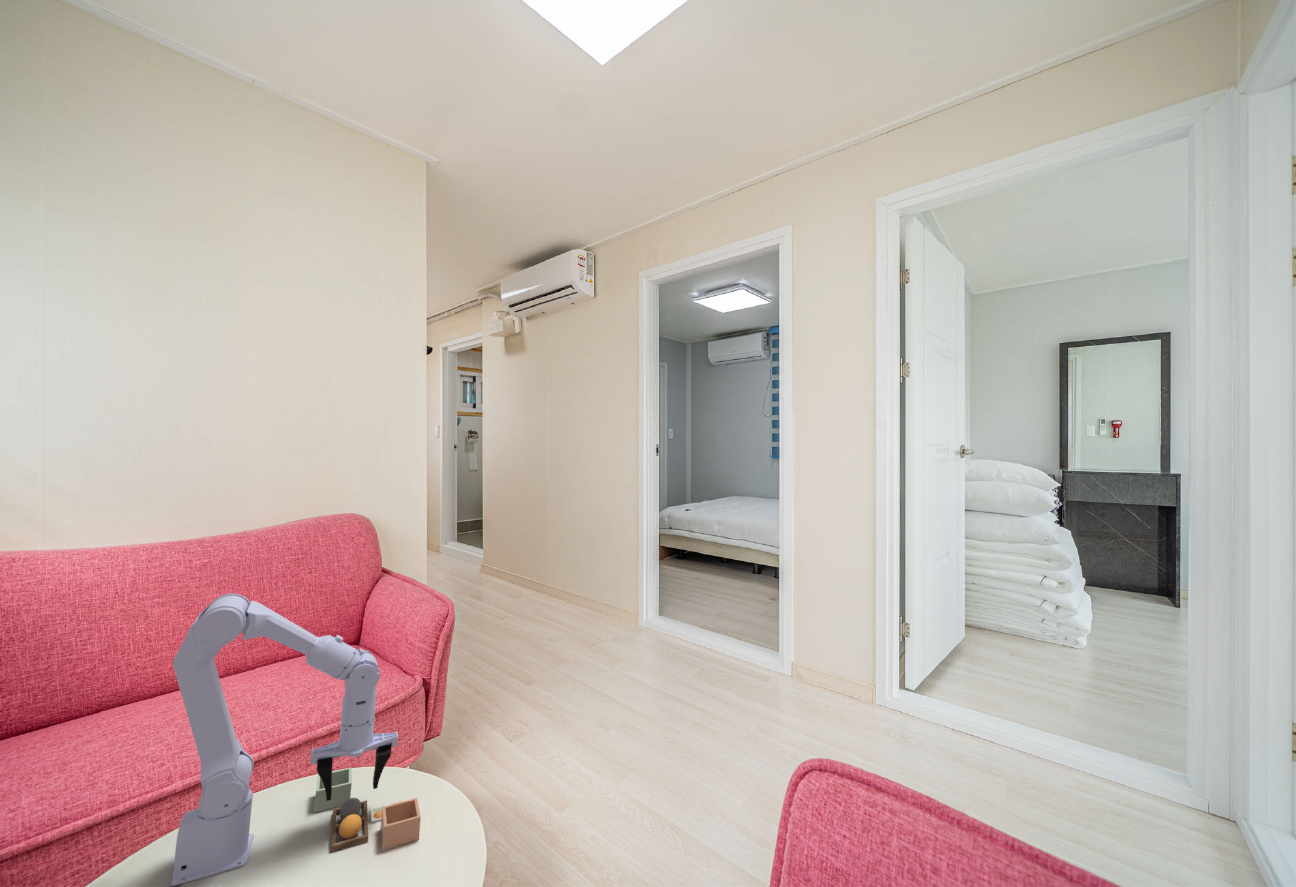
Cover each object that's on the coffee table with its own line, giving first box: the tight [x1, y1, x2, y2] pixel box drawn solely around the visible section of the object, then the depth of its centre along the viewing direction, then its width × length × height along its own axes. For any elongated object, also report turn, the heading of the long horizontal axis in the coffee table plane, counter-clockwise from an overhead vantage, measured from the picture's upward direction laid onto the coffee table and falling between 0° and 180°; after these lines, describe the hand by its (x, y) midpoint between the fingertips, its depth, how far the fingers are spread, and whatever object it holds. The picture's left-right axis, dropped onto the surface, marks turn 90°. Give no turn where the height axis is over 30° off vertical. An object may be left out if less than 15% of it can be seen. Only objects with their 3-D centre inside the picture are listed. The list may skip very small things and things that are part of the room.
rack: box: [329, 799, 370, 854], centre depth 93 cm, size 6×11×1 cm, turn 31°
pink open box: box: [380, 797, 422, 852], centre depth 92 cm, size 6×6×4 cm
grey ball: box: [339, 797, 362, 821], centre depth 96 cm, size 4×4×4 cm
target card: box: [369, 799, 405, 824], centre depth 98 cm, size 6×4×1 cm, turn 121°
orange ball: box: [338, 814, 363, 840], centre depth 91 cm, size 4×4×4 cm
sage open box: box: [313, 766, 353, 814], centre depth 101 cm, size 6×6×4 cm
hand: (352, 791), depth 96 cm, fingers open, 7 cm apart
